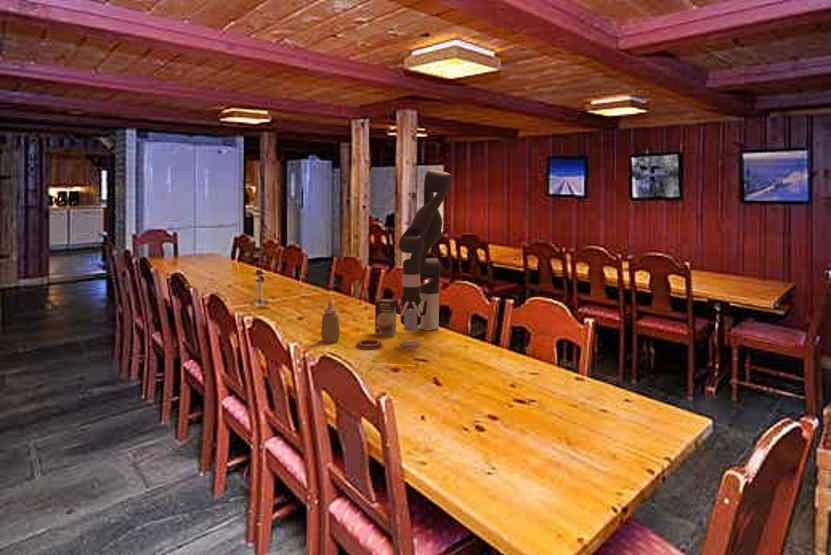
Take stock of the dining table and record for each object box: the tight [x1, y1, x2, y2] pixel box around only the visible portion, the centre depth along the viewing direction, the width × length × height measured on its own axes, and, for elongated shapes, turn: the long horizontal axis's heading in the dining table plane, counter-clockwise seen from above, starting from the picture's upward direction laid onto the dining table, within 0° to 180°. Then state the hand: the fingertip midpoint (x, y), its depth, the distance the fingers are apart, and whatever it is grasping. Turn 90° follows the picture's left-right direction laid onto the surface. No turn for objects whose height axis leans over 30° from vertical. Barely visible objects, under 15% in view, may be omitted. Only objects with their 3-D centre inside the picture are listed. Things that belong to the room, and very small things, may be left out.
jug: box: [403, 309, 419, 332], centre depth 228 cm, size 11×6×8 cm, turn 171°
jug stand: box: [354, 338, 384, 352], centre depth 229 cm, size 12×12×2 cm
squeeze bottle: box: [320, 300, 341, 344], centre depth 235 cm, size 8×8×18 cm
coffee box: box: [374, 298, 397, 337], centre depth 248 cm, size 9×6×16 cm
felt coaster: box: [398, 341, 422, 349], centre depth 232 cm, size 9×9×1 cm
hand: (411, 324), depth 230 cm, fingers closed on jug, 5 cm apart
